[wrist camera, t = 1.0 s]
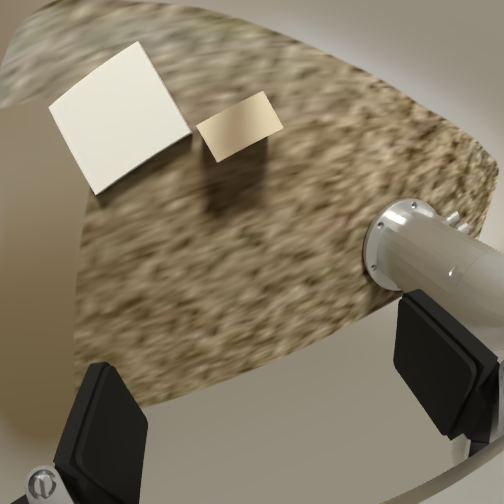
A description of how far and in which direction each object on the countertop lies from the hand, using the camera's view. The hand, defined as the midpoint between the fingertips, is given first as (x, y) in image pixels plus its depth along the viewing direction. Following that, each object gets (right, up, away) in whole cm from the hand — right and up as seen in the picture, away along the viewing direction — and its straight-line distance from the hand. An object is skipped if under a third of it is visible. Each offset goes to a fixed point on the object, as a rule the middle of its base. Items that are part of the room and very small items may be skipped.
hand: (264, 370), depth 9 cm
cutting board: (-15, +18, +19) cm, 30 cm away
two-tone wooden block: (-2, +16, +21) cm, 27 cm away
